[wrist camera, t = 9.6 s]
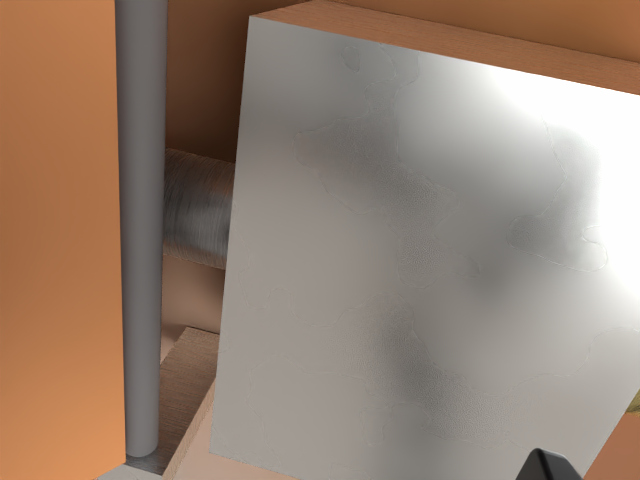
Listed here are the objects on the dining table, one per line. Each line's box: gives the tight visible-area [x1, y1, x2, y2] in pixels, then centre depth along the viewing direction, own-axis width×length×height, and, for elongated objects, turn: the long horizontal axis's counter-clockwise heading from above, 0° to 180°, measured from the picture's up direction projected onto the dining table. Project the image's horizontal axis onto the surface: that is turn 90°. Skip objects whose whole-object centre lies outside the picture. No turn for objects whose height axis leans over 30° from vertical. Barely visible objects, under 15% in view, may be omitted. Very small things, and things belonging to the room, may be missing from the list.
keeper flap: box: [0, 0, 168, 480], centre depth 9 cm, size 12×5×1 cm
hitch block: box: [98, 0, 640, 480], centre depth 13 cm, size 14×14×6 cm
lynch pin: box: [163, 147, 640, 417], centre depth 12 cm, size 4×13×4 cm, turn 81°
